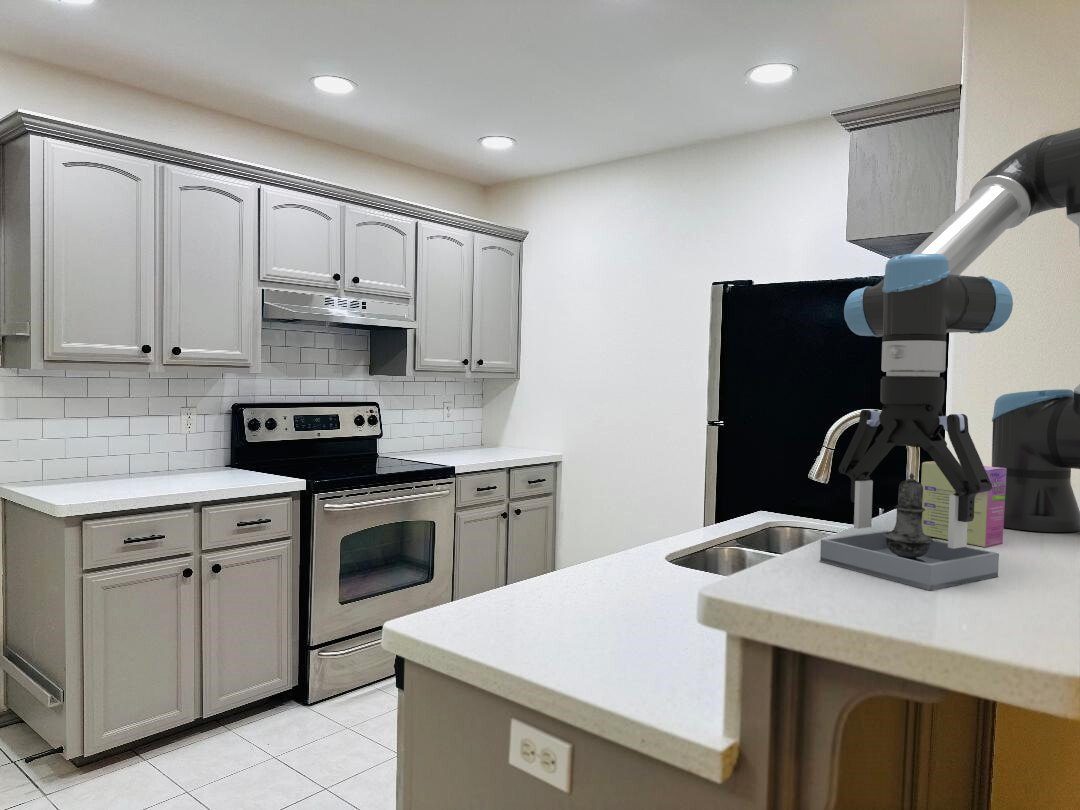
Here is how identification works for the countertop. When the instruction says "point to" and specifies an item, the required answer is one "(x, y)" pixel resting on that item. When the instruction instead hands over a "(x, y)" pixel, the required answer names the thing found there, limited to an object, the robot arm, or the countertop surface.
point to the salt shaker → (909, 523)
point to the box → (986, 506)
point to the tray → (910, 561)
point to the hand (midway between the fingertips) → (907, 537)
